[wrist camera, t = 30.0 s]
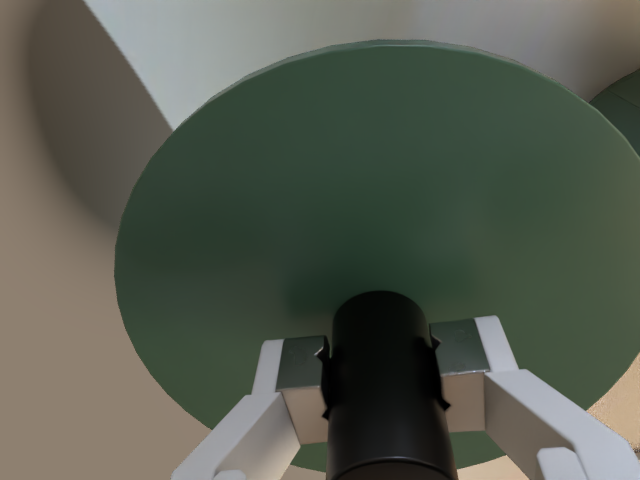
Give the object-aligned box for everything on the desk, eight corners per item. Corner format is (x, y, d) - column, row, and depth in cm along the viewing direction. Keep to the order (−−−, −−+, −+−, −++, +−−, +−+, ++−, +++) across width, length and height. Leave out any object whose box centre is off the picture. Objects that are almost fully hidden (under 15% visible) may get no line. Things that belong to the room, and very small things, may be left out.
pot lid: (36, 100, 11) (-221, 231, 6) (696, -35, 9) (1131, -5, 4) (220, 457, 18) (172, 650, 13) (608, 429, 16) (722, 645, 11)
